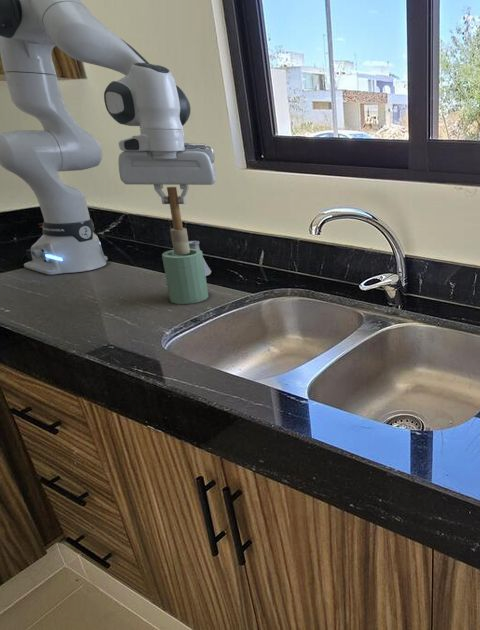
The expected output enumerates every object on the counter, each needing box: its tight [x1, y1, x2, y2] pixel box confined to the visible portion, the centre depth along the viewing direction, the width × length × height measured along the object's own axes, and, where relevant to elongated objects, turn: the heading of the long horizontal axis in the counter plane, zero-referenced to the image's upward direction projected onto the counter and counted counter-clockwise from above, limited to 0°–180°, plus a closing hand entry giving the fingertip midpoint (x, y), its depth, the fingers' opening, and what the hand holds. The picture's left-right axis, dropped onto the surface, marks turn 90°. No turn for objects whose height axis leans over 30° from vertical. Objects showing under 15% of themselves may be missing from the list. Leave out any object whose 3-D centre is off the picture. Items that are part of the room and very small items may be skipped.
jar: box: [161, 249, 209, 305], centre depth 120 cm, size 9×9×12 cm
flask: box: [188, 240, 212, 277], centre depth 139 cm, size 7×7×10 cm
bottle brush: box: [166, 186, 190, 255], centre depth 115 cm, size 4×4×16 cm
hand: (174, 203), depth 113 cm, fingers closed on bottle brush, 2 cm apart
